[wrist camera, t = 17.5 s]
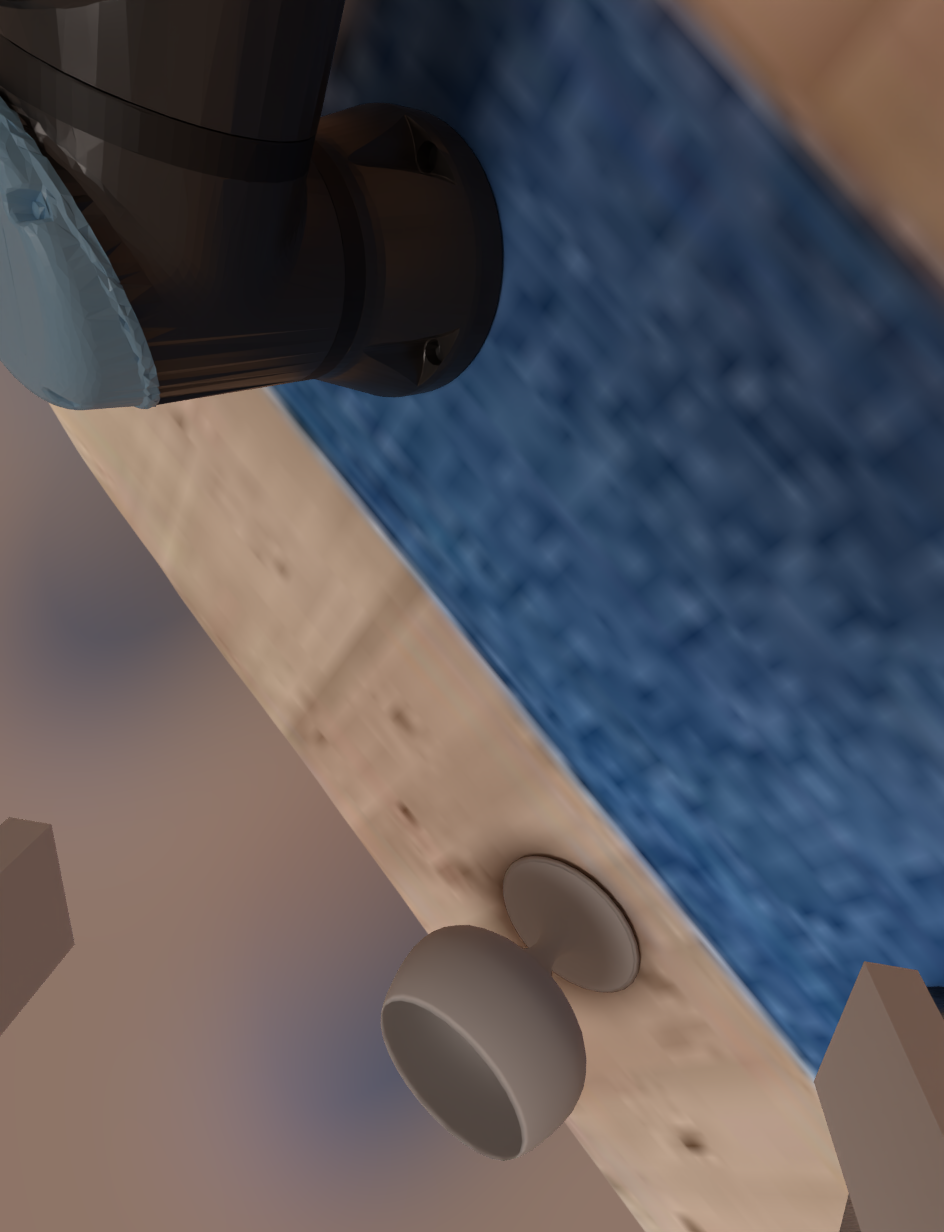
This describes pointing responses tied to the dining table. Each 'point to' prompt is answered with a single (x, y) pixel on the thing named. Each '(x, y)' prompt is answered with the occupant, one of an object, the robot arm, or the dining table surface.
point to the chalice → (507, 1009)
